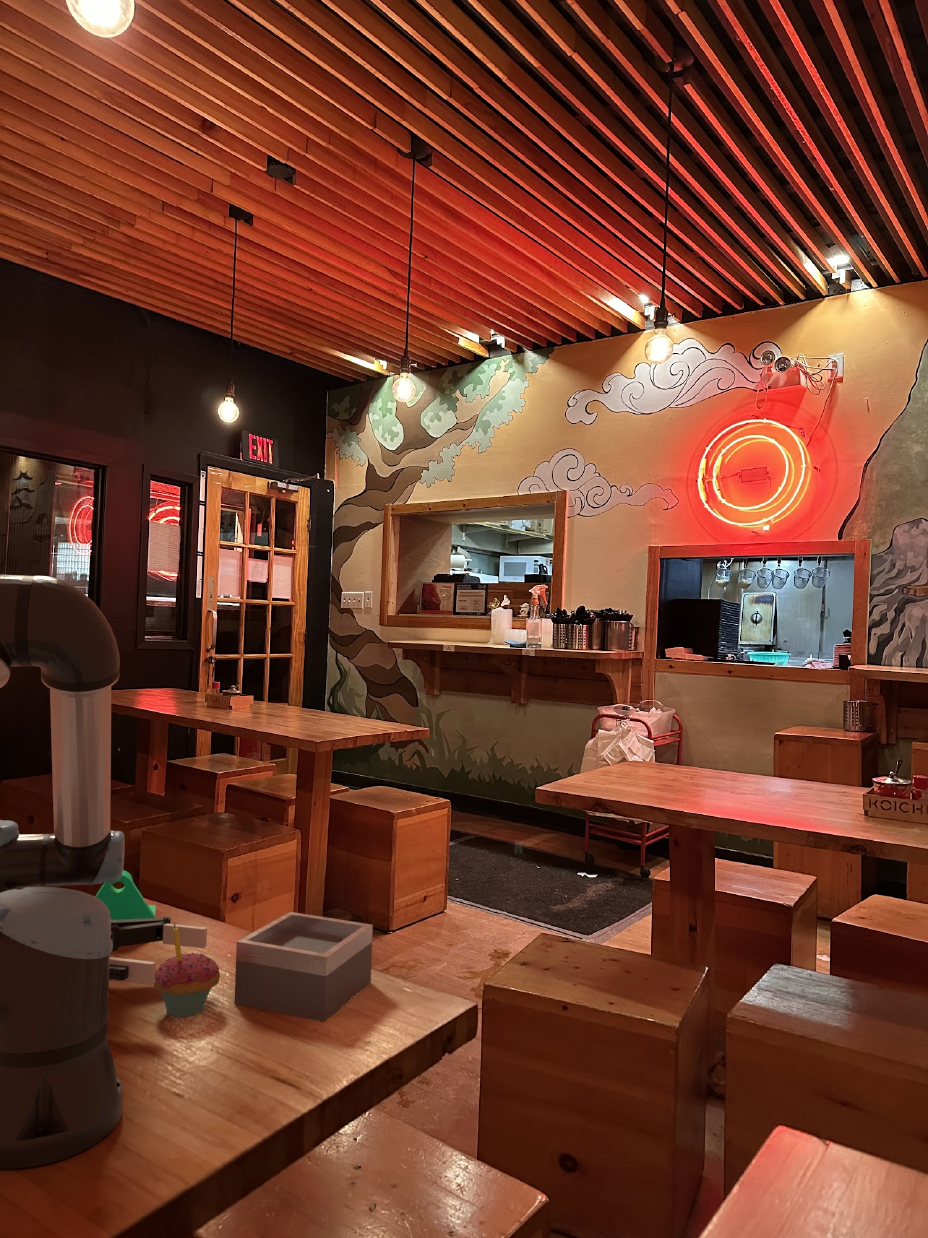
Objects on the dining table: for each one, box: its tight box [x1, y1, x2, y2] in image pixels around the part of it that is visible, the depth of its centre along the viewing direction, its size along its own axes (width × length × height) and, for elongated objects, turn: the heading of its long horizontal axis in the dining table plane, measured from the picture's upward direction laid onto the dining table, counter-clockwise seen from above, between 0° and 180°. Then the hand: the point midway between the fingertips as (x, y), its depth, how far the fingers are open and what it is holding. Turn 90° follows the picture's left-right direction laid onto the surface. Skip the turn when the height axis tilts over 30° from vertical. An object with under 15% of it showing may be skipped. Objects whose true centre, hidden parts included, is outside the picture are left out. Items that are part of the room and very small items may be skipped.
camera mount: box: [95, 869, 157, 920], centre depth 145 cm, size 12×8×10 cm, turn 109°
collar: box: [235, 911, 374, 976], centre depth 122 cm, size 14×14×2 cm
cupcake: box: [153, 922, 221, 1018], centre depth 115 cm, size 9×8×12 cm
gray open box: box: [234, 931, 373, 1023], centre depth 121 cm, size 14×14×6 cm
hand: (181, 955), depth 116 cm, fingers open, 13 cm apart
